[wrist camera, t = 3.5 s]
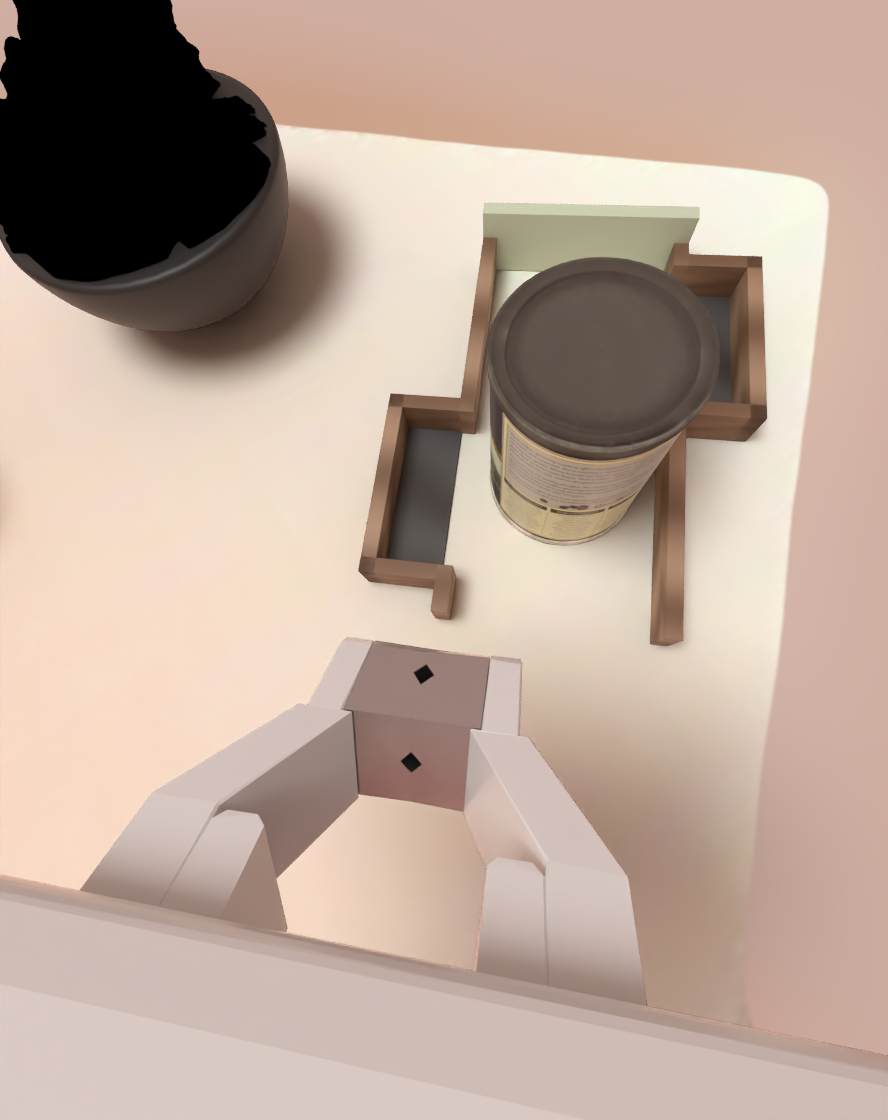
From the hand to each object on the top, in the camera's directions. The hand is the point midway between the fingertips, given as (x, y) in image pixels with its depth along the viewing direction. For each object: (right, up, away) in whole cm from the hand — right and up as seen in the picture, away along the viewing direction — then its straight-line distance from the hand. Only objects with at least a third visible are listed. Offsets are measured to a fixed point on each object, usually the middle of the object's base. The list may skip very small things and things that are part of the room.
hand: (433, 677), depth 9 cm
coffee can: (+9, +8, +28) cm, 30 cm away
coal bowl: (-20, +26, +36) cm, 48 cm away
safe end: (+11, +26, +32) cm, 43 cm away
